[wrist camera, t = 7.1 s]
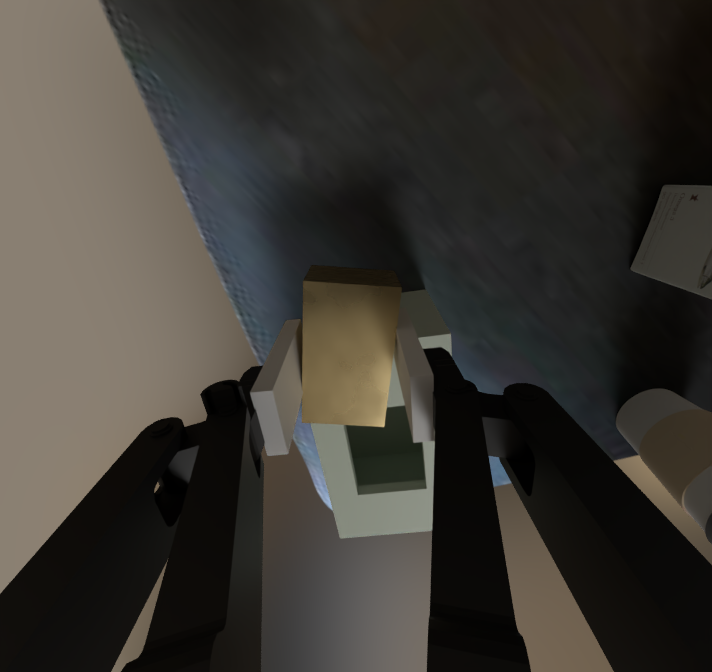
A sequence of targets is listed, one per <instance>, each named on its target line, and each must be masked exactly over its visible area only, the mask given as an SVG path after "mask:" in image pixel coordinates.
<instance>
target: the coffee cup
mask: <svg viewBox="0 0 712 672" xmlns="http://www.w3.org/2000/svg"><path fill="white" fill-rule="evenodd" d="M616 426H617V429H618V430H619V432H620V433H621V434H622V435H623V436H624V438H625V439H626V440H627V441H628V442H629V444H630V445H631V446H632V447H633V448H634V449H635V451H636V452H637V453H638V454H639V455H640V457H641V459H642V460H643V462H644V463H645V464H646V465H647V466H648V468H649V469H650V470H651V471H652V472H653V474H654V475H655V476H656V477H657V478H658V480H659V481H660V482H661V483H662V484H663V485H664V487H665V488H666V489H667V490H668V492H669V493H670V494H671V495H672V496H673V498H674V499H675V500H676V501H677V502H678V504H679V505H680V506H681V507H682V508H683V510H684V511H685V512H686V513H687V514H688V515H689V516H691V517H692V518H694V520H695V521H696V522H697V523H698V524H699V526H700V527H701V528H702V529H703V530H704V531H705V533H706V537H707V539H708V540H709V542H710V543H712V413H711V412H709V411H706V410H703V409H701V408H699V407H698V406H696V405H694V404H693V403H691V402H689V401H687V400H686V399H684V398H682V397H681V396H679V395H677V394H676V393H674V392H672V391H670V390H667V389H650V390H646V391H643V392H641V393H639V394H637V395H635V396H633V397H632V398H630V399H629V400H628V401H627V402H626V403H625V404H624V405H623V406H622V407H621V409H620V410H619V412H618V414H617V417H616Z"/></svg>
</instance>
